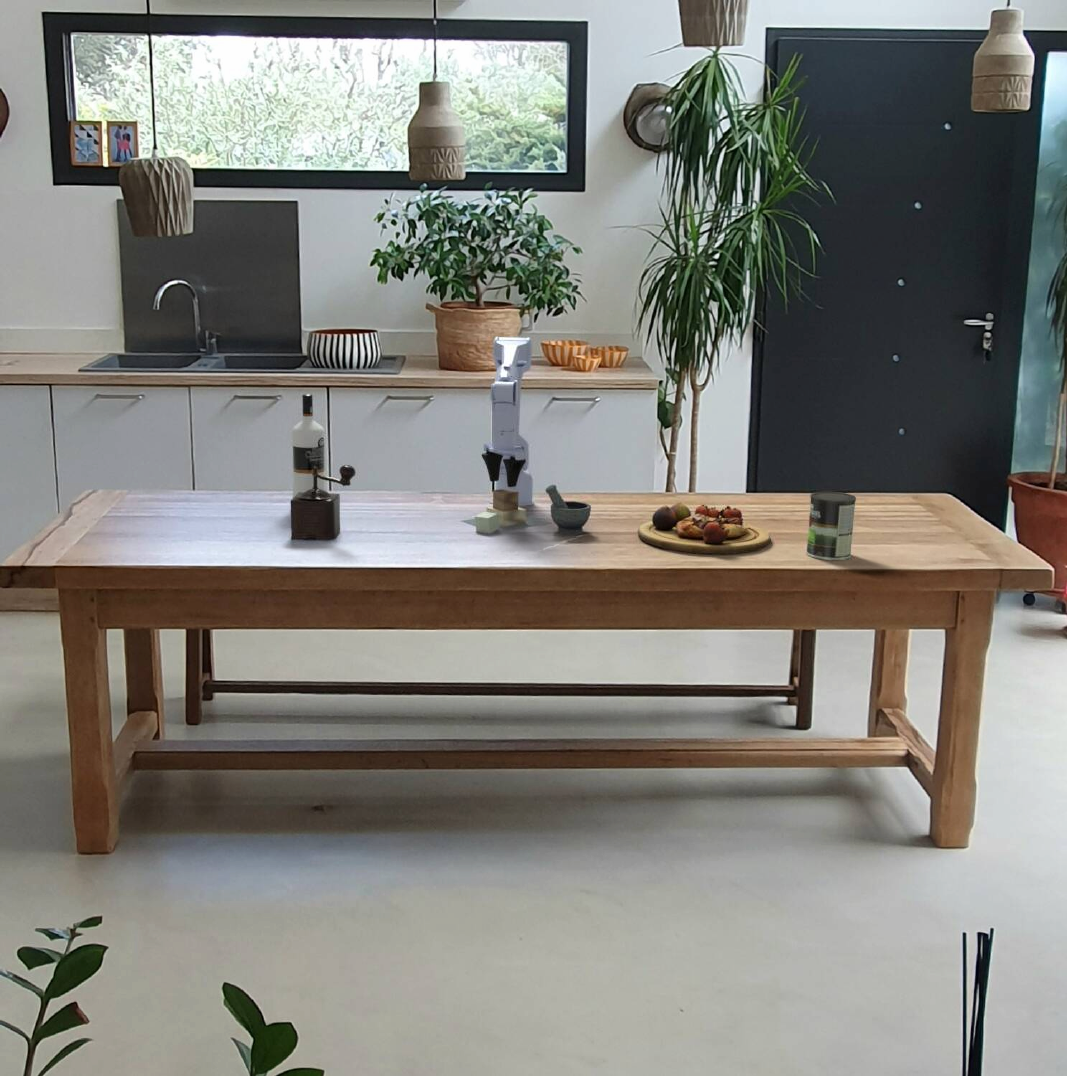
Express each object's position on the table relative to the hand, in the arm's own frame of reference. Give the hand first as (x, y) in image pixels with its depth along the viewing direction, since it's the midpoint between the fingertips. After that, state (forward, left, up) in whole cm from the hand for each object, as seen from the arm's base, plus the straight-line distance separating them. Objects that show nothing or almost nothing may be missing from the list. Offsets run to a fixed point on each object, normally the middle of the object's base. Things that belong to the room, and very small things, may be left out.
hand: (503, 483), depth 336 cm
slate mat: (0, +1, -10) cm, 10 cm away
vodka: (+35, -37, -10) cm, 52 cm away
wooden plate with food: (-32, +39, -11) cm, 52 cm away
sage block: (+9, +6, -10) cm, 15 cm away
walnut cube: (0, +2, -6) cm, 6 cm away
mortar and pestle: (-7, +17, -10) cm, 21 cm away
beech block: (0, +1, -10) cm, 10 cm away
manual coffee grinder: (+44, -11, -10) cm, 46 cm away
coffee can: (-46, +66, -10) cm, 81 cm away
